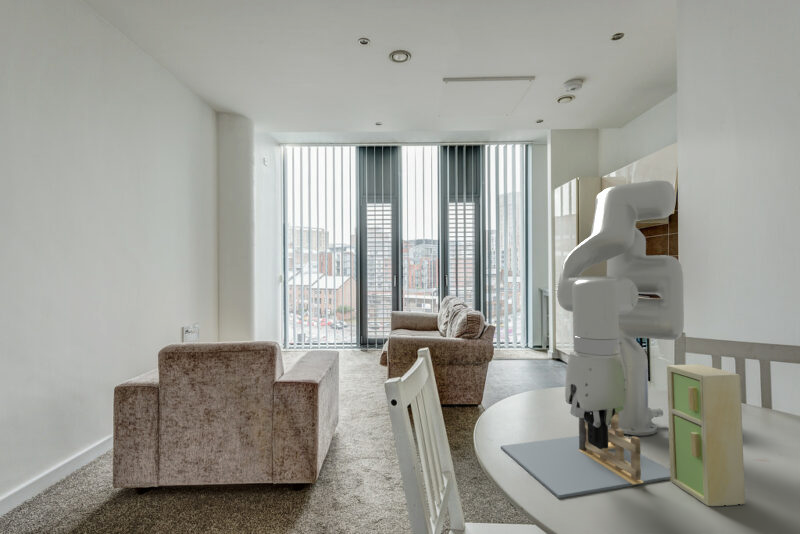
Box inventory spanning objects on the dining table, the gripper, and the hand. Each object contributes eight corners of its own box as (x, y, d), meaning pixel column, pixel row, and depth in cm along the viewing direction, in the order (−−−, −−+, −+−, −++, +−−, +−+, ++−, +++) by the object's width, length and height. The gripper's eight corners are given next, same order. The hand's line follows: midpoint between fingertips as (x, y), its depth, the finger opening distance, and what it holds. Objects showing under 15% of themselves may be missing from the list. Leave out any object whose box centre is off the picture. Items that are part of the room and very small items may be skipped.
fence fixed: (614, 445, 83) (613, 405, 83) (620, 448, 81) (619, 407, 81) (577, 450, 80) (577, 408, 81) (582, 454, 79) (582, 411, 79)
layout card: (601, 435, 88) (601, 432, 88) (682, 478, 69) (682, 475, 69) (500, 448, 82) (500, 445, 82) (560, 500, 63) (560, 496, 63)
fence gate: (585, 450, 78) (584, 415, 79) (590, 449, 79) (589, 414, 79) (635, 480, 67) (634, 439, 67) (641, 479, 67) (640, 438, 67)
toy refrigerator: (664, 480, 69) (662, 364, 69) (702, 478, 69) (700, 363, 70) (703, 507, 61) (701, 376, 61) (745, 505, 61) (743, 374, 62)
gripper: (612, 339, 75) (614, 431, 75) (547, 344, 71) (549, 442, 71) (646, 346, 68) (648, 448, 68) (575, 353, 64) (578, 461, 64)
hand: (597, 445), depth 70 cm, fingers closed
